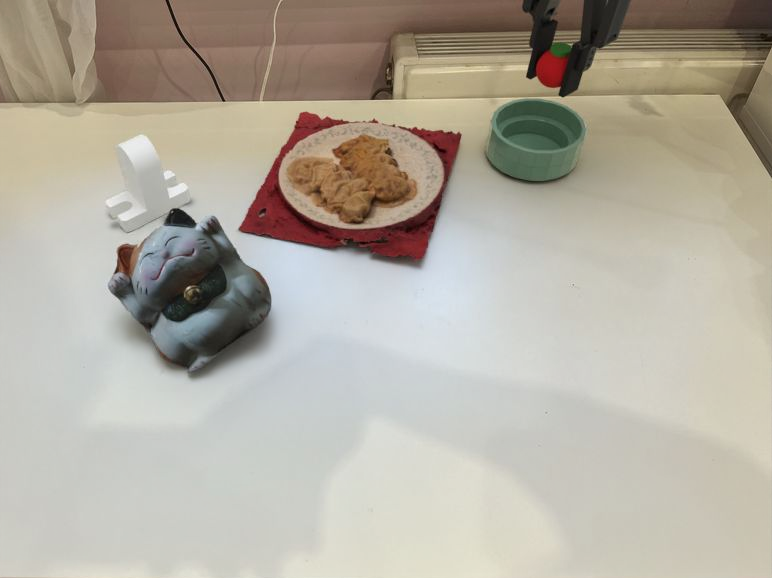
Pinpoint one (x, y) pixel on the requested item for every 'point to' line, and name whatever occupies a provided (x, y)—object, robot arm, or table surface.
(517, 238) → the table surface
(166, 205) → the cable organizer
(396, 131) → the plate with food
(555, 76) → the tomato
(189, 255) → the lucky cat figurine
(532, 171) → the bowl
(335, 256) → the table surface
